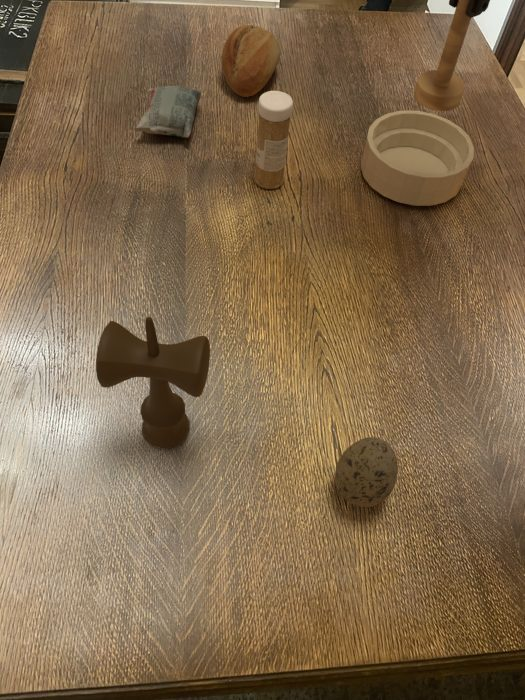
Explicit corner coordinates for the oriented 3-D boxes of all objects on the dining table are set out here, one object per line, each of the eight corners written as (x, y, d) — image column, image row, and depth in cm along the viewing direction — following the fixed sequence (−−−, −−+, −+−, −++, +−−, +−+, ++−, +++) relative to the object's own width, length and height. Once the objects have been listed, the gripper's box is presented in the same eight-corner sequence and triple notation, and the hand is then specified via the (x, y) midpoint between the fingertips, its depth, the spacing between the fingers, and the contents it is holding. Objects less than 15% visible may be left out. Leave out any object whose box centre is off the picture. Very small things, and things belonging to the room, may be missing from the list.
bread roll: (212, 97, 102) (212, 51, 95) (232, 52, 110) (233, 6, 104) (268, 107, 101) (271, 61, 95) (284, 60, 110) (288, 15, 103)
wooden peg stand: (453, 84, 80) (498, -51, 67) (465, 111, 77) (515, -25, 63) (409, 84, 79) (445, -52, 66) (419, 111, 76) (460, -26, 63)
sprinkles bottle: (254, 170, 92) (259, 88, 81) (284, 171, 92) (292, 90, 81) (253, 190, 89) (258, 108, 78) (284, 191, 89) (293, 110, 78)
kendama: (129, 400, 68) (100, 282, 51) (214, 412, 68) (212, 297, 51) (115, 448, 64) (79, 339, 48) (205, 461, 64) (199, 355, 48)
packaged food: (135, 143, 94) (132, 115, 90) (150, 99, 101) (148, 71, 97) (191, 149, 94) (190, 121, 90) (202, 105, 101) (202, 77, 97)
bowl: (446, 143, 98) (457, 110, 94) (472, 209, 90) (487, 176, 85) (352, 143, 97) (359, 110, 92) (370, 210, 88) (378, 177, 83)
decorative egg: (347, 452, 66) (366, 407, 58) (396, 483, 64) (422, 441, 56) (319, 495, 63) (334, 453, 55) (369, 528, 61) (392, 490, 53)
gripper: (615, -170, 53) (532, 29, 67) (498, -213, 59) (445, -23, 73) (561, -158, 50) (487, 46, 65) (444, -204, 57) (399, -9, 71)
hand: (464, 9), depth 69 cm, fingers closed on wooden peg stand, 2 cm apart
